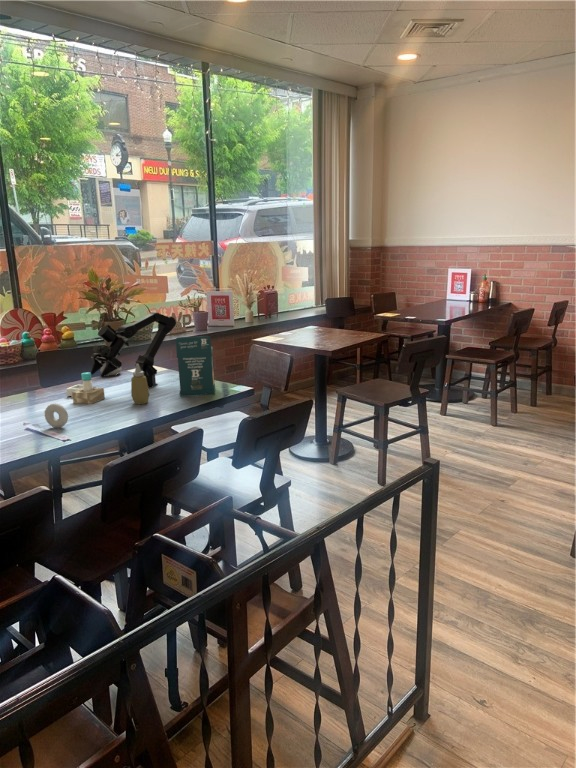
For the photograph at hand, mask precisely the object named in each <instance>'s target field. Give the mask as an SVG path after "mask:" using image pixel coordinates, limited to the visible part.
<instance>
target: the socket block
mask: <svg viewBox="0 0 576 768" xmlns="http://www.w3.org/2000/svg"><path fill="white" fill-rule="evenodd" d="M92 389H93V391H91V392H84V390H83V388H82V389H79V390H77V391H74V392H72V396H73V397H72V402H73V403H74V404H89V405H92V404H95V403H97V402H99V401H101V400H103V399H104V400H105V399H106V398H105V396H106V395H105V388H104V387H93V386H92ZM73 403H72V404H73Z"/></svg>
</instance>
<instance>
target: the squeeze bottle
mask: <svg viewBox="0 0 576 768" xmlns="http://www.w3.org/2000/svg"><path fill="white" fill-rule="evenodd" d="M135 365H136V366H135V369H134V371H133V372H132V375H133V376H132V377H131V381H130V384H131V385H130V386H131V391H130V393H131V394H130V396H131V399H132V401H133V403H134V404H135V405H143V404H147V403H148V402H149V399H150V390H149V387H148V384H147V379H146V377H145V376H143V375H144V372H143V371H141V369H140V366H139V364H136V363H135Z"/></svg>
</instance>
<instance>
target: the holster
mask: <svg viewBox="0 0 576 768" xmlns="http://www.w3.org/2000/svg"><path fill="white" fill-rule="evenodd" d="M82 388H83V384H75V385H72V386H70V387H67V388H66V389H65V390H66V397H67V396H72V392H74V391H77V390H79V389H82ZM71 398H73V396H72V397H71Z"/></svg>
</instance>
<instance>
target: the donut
mask: <svg viewBox="0 0 576 768" xmlns="http://www.w3.org/2000/svg"><path fill="white" fill-rule="evenodd" d="M55 413H56V414H57V415H58V419H57V418H56V416H55ZM68 414H69V413H68V411H67V410H66V408H65V407H64V406H63V405H61V404H60V403H55V402H54V403H51V404H49V405H47V406H46V408H45V410H44V418H45V421H46V422H47V423H48V425H49V426H51V427H53V428H56V429H58V428H63V427H64V426H65V425H66V424H67V423H68V421H69V415H68Z"/></svg>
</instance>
